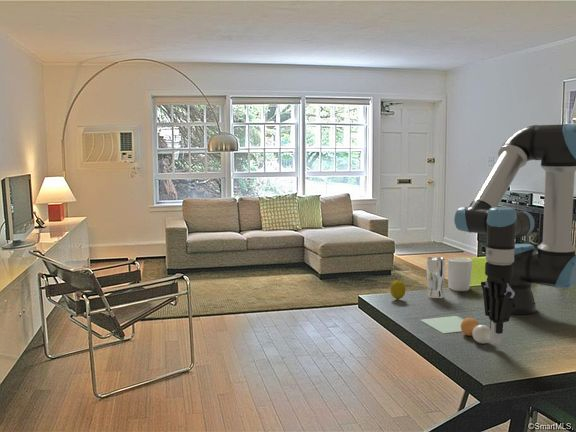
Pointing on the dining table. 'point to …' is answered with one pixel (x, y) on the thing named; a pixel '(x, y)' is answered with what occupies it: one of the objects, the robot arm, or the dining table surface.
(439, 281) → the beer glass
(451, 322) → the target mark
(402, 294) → the lemon
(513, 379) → the dining table surface
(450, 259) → the candle holder
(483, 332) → the cue ball
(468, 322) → the object ball
